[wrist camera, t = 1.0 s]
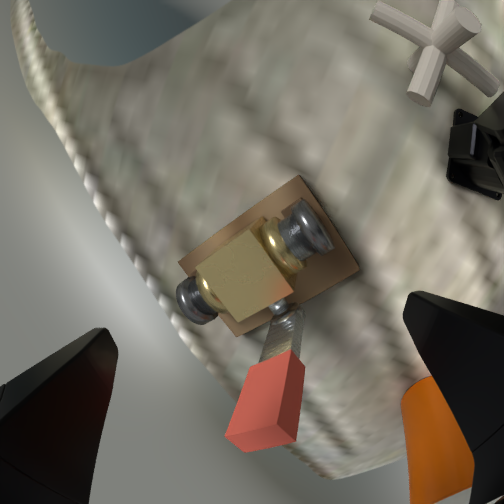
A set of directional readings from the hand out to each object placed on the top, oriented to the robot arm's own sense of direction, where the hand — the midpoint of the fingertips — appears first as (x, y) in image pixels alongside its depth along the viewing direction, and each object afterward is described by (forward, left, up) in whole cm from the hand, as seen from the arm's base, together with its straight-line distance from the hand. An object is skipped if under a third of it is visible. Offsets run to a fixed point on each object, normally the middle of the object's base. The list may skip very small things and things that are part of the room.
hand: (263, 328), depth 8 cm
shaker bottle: (-20, +17, -17) cm, 31 cm away
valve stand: (+2, +4, -16) cm, 17 cm away
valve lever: (-1, +7, -14) cm, 16 cm away
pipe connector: (-8, -15, -17) cm, 24 cm away
